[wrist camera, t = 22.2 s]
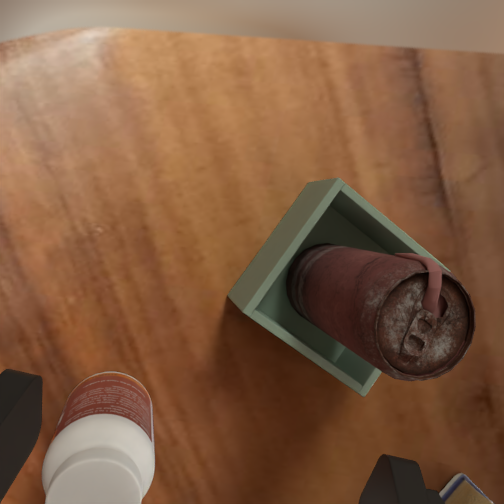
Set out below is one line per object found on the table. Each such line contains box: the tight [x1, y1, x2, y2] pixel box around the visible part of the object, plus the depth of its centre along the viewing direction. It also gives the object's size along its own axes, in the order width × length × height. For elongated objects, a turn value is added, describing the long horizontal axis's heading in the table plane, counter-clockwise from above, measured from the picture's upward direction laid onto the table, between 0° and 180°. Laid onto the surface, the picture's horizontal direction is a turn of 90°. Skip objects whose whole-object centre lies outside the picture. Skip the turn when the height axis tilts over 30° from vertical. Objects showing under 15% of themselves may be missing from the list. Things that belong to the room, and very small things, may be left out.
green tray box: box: [227, 178, 451, 397], centre depth 34 cm, size 11×11×6 cm
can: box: [286, 243, 476, 381], centre depth 29 cm, size 6×6×14 cm
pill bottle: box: [42, 372, 155, 504], centre depth 29 cm, size 6×6×11 cm
